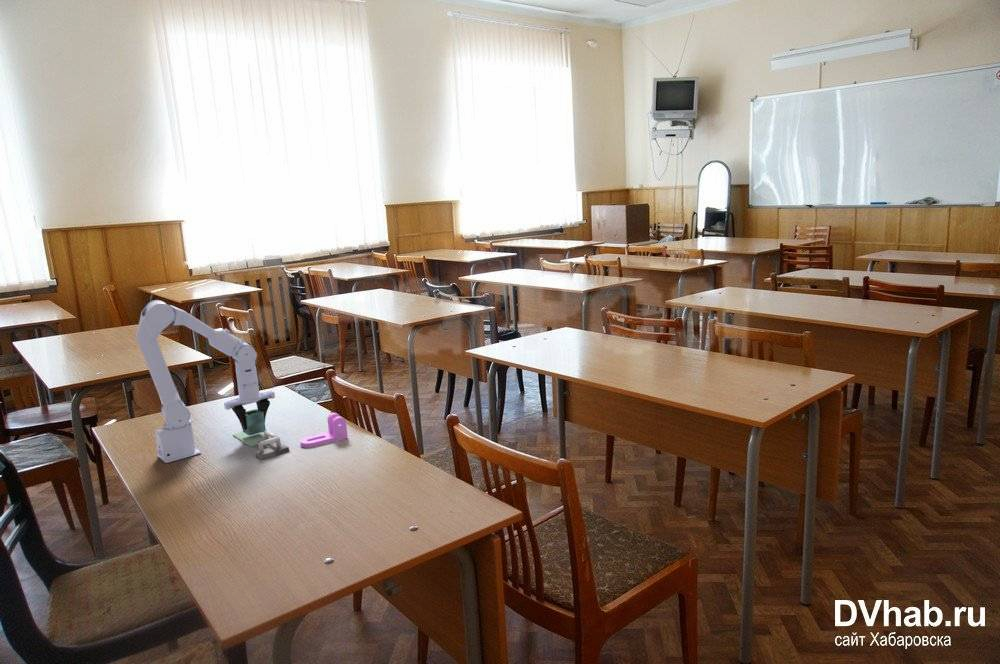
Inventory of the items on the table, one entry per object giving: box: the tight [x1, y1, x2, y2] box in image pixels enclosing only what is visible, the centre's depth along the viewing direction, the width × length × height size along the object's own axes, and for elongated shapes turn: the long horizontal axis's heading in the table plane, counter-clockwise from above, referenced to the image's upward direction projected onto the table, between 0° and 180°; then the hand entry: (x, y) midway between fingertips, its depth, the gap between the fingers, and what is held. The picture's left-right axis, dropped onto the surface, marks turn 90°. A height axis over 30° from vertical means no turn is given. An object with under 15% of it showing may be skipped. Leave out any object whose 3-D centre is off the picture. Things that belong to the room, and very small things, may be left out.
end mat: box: [232, 431, 271, 448], centre depth 201 cm, size 8×14×1 cm, turn 42°
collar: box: [242, 408, 267, 436], centre depth 200 cm, size 5×5×6 cm
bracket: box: [299, 412, 349, 449], centre depth 195 cm, size 13×6×7 cm, turn 122°
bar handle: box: [255, 429, 290, 460], centre depth 190 cm, size 8×12×4 cm
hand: (253, 426), depth 201 cm, fingers closed on collar, 5 cm apart
